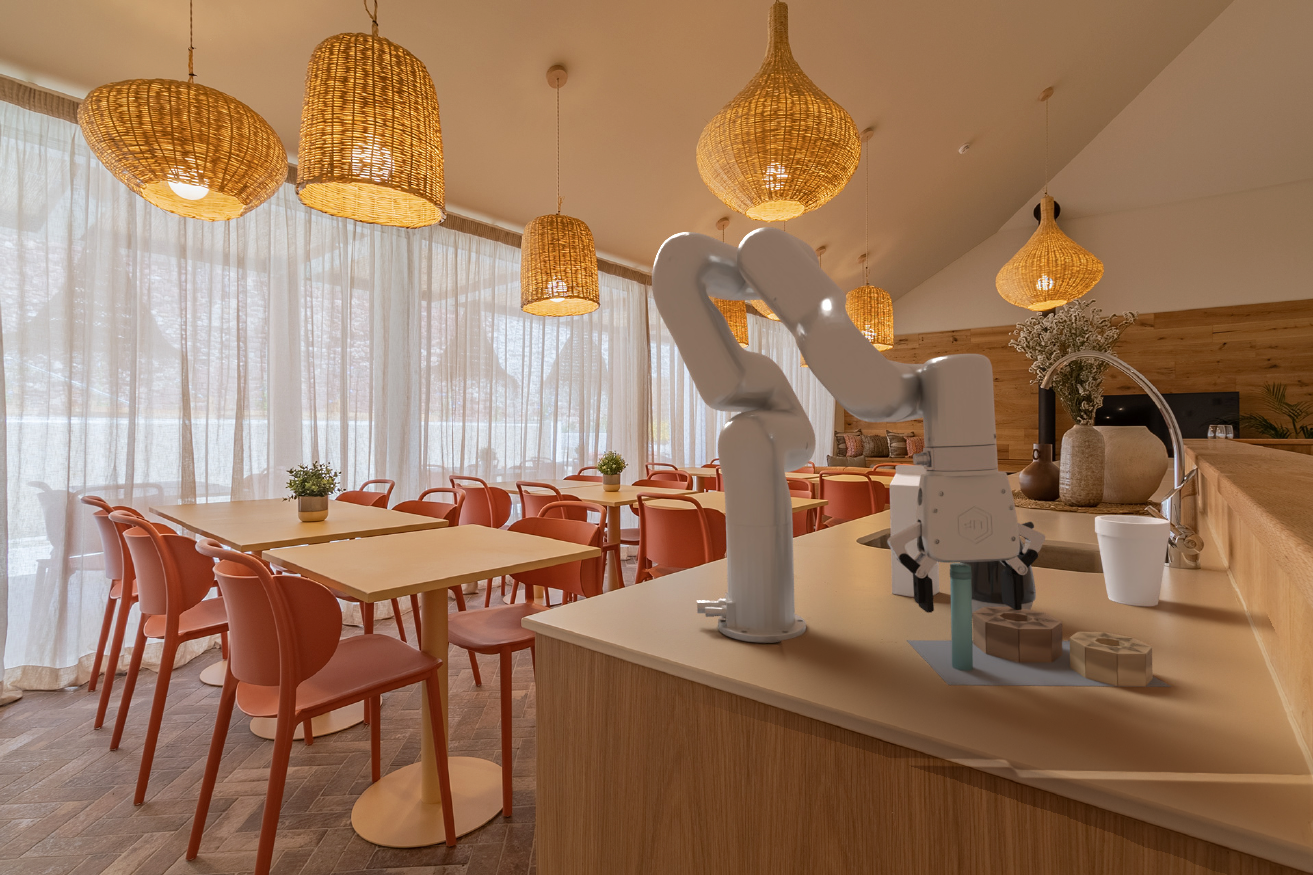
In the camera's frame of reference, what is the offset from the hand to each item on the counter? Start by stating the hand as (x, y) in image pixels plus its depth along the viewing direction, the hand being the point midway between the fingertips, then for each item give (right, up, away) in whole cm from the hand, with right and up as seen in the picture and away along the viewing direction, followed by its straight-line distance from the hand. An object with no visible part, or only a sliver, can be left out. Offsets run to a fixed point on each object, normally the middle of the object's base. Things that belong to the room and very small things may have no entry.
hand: (968, 608), depth 71 cm
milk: (+8, -7, +34) cm, 36 cm away
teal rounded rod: (0, -7, +1) cm, 7 cm away
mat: (+8, -7, +2) cm, 11 cm away
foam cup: (+40, -6, +26) cm, 48 cm away
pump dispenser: (+14, -7, +20) cm, 25 cm away
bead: (+9, -7, +6) cm, 13 cm away
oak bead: (+15, -7, -2) cm, 17 cm away
